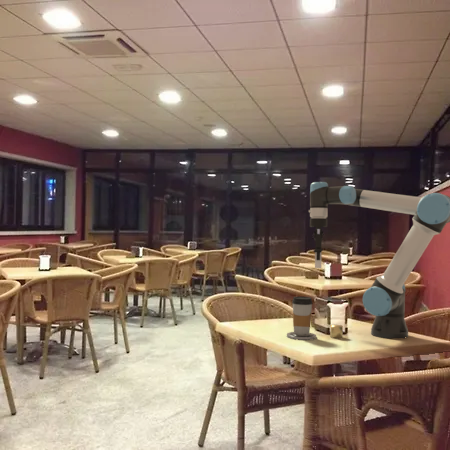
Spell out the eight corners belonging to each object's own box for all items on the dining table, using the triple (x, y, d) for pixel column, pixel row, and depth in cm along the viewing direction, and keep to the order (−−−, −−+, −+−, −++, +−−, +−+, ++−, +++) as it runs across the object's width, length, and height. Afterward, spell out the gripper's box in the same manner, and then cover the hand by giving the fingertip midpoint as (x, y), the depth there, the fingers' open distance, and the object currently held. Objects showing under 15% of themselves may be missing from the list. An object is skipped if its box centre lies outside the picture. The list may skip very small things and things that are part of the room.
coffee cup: (311, 336, 213) (312, 299, 213) (290, 335, 214) (291, 298, 214) (312, 332, 221) (313, 297, 221) (292, 331, 222) (293, 296, 222)
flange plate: (316, 335, 222) (316, 332, 222) (315, 341, 210) (315, 338, 210) (288, 333, 225) (288, 330, 225) (285, 339, 213) (285, 336, 213)
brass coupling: (342, 336, 220) (342, 324, 220) (342, 339, 215) (342, 327, 215) (330, 336, 221) (330, 324, 221) (329, 338, 216) (330, 326, 216)
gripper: (310, 218, 242) (309, 264, 242) (309, 217, 218) (308, 268, 218) (326, 218, 241) (326, 265, 241) (328, 217, 217) (327, 269, 216)
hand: (318, 267), depth 229 cm, fingers open, 13 cm apart
